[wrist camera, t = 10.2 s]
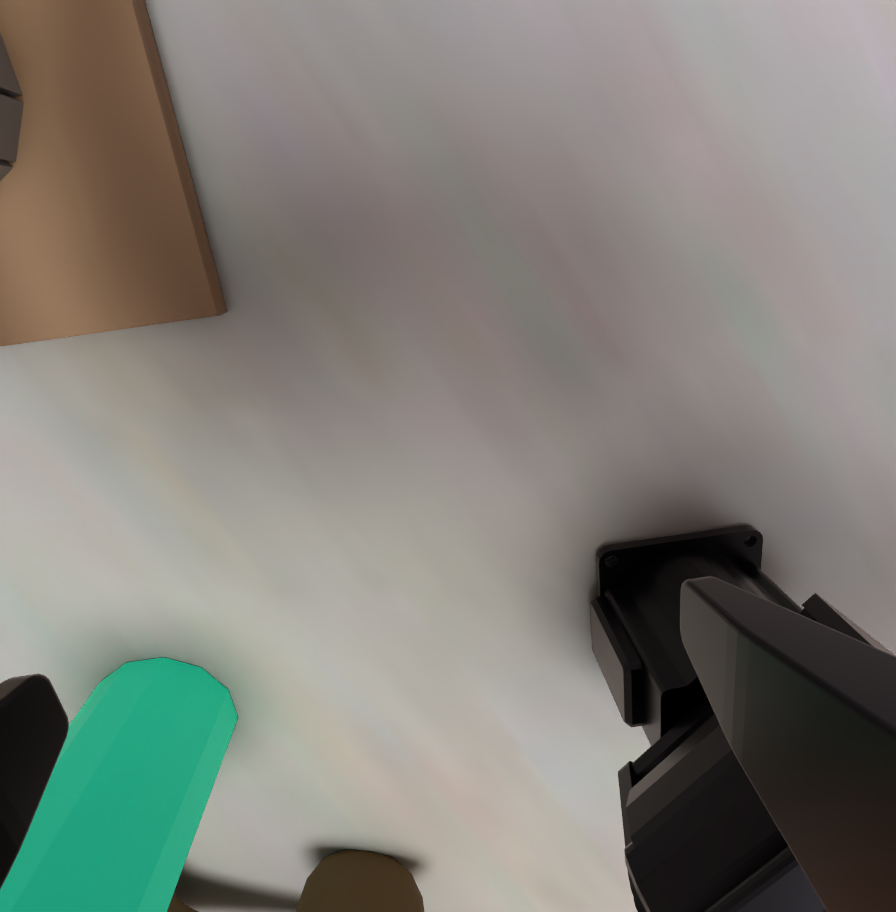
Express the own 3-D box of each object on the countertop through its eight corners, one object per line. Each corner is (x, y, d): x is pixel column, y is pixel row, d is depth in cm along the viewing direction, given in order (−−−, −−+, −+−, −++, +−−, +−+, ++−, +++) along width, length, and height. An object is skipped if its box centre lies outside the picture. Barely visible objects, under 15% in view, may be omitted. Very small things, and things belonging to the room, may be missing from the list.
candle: (86, 652, 23) (-225, 1042, 12) (238, 662, 24) (80, 1043, 12) (98, 762, 25) (-158, 1184, 14) (237, 769, 26) (100, 1179, 14)
